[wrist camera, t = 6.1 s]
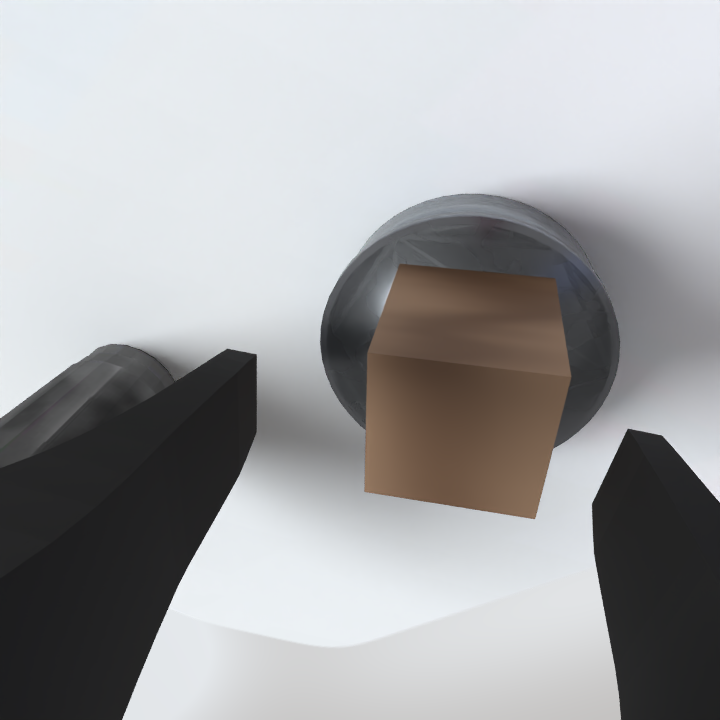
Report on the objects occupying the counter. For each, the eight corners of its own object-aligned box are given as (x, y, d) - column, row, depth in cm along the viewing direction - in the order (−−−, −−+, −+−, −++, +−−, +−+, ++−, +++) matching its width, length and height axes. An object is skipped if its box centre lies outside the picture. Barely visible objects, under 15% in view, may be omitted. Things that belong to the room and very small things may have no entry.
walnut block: (555, 278, 17) (570, 377, 13) (528, 403, 19) (535, 519, 15) (399, 263, 18) (367, 352, 14) (393, 385, 20) (364, 492, 16)
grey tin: (660, 240, 19) (685, 280, 16) (534, 446, 24) (537, 500, 22) (379, 145, 19) (361, 172, 16) (316, 371, 24) (295, 417, 22)
